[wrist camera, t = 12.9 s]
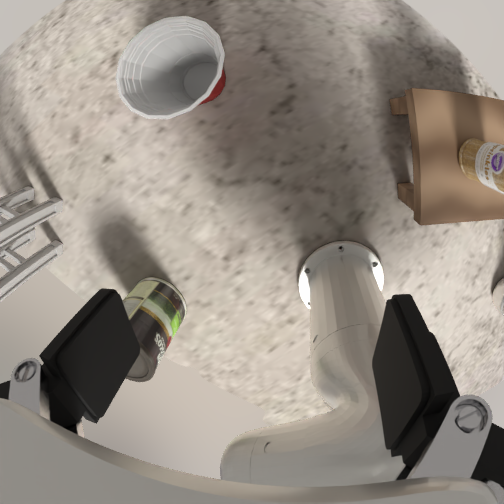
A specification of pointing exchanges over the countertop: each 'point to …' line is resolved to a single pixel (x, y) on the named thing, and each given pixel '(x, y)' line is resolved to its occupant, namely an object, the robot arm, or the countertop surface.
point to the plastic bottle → (499, 296)
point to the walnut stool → (448, 155)
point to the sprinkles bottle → (483, 163)
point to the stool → (24, 238)
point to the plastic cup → (171, 68)
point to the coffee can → (153, 322)
